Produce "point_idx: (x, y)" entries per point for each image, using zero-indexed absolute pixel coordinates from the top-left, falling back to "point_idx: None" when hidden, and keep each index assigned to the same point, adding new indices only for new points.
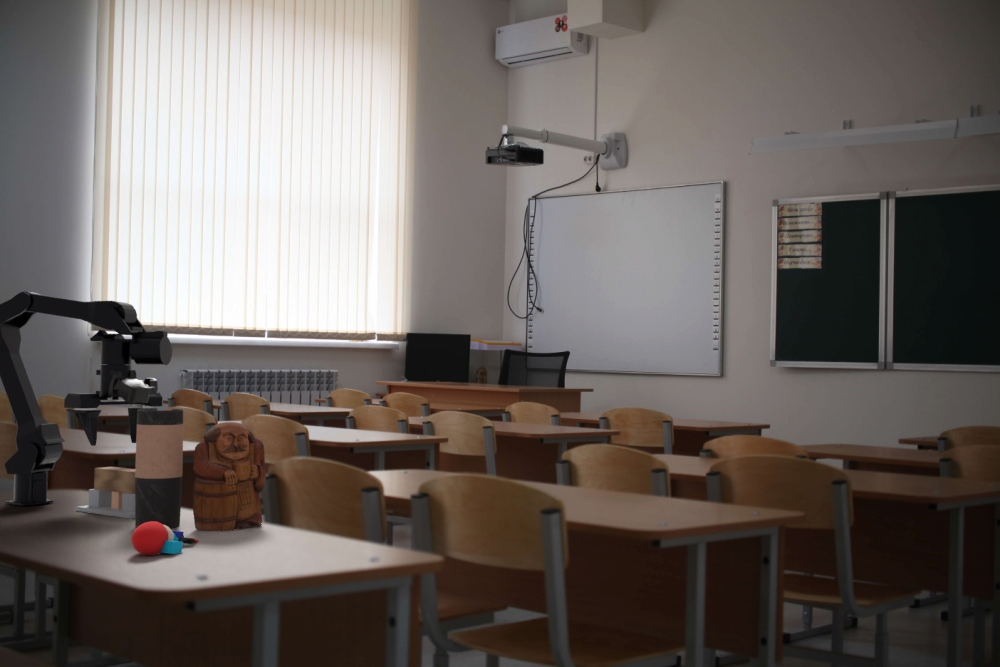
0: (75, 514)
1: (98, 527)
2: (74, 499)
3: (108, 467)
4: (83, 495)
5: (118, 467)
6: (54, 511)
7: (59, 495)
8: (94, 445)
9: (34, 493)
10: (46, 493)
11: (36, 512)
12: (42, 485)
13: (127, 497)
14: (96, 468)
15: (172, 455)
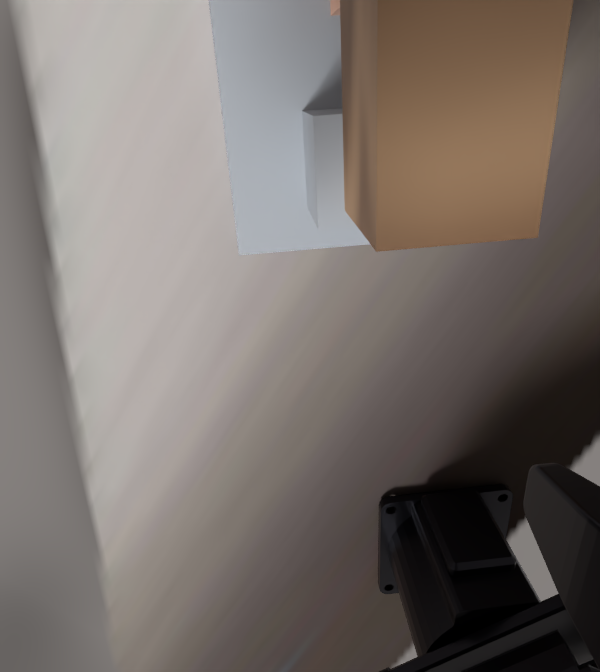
0: (562, 118)
1: None
2: (258, 544)
3: (435, 199)
4: (173, 611)
5: (379, 127)
6: (535, 292)
7: (238, 649)
8: (545, 464)
9: (491, 517)
10: (435, 517)
11: (593, 318)
12: (469, 545)
13: None
14: (540, 210)
15: None
